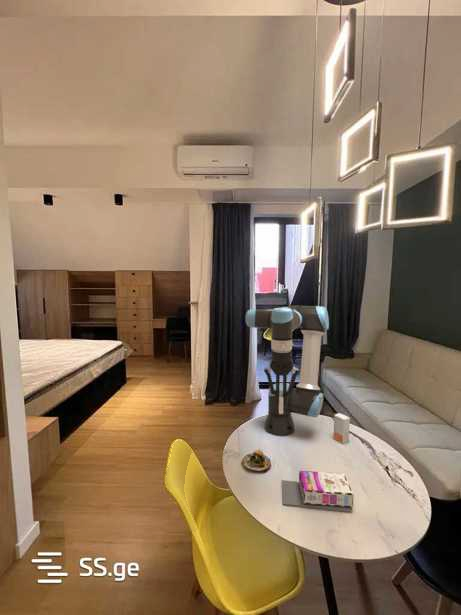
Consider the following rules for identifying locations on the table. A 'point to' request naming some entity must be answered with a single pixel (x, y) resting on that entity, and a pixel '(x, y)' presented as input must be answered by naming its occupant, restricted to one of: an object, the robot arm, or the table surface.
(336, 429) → the skincare box
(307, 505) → the mat
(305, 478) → the candy bar box
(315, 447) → the table surface
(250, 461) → the plate of food
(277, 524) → the table surface
